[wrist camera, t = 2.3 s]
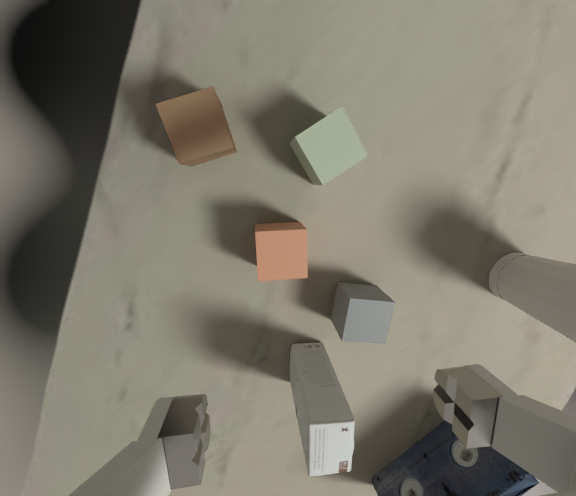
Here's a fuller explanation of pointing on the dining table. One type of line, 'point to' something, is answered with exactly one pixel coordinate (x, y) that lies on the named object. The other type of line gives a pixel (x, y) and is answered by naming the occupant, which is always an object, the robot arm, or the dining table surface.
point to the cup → (538, 289)
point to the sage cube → (328, 147)
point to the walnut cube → (197, 127)
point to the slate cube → (361, 313)
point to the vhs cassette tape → (451, 470)
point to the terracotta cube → (281, 251)
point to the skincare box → (321, 411)
